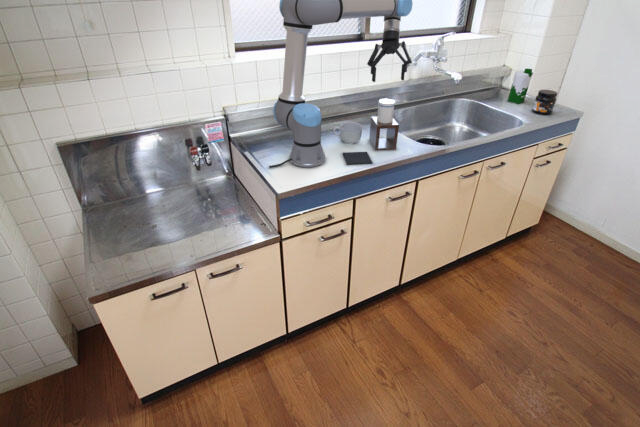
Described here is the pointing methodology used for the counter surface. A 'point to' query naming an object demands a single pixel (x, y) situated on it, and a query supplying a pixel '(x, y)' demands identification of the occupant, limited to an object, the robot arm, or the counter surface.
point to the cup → (385, 110)
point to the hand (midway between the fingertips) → (387, 80)
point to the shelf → (383, 143)
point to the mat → (357, 158)
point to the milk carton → (520, 86)
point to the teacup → (349, 132)
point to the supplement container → (544, 102)
